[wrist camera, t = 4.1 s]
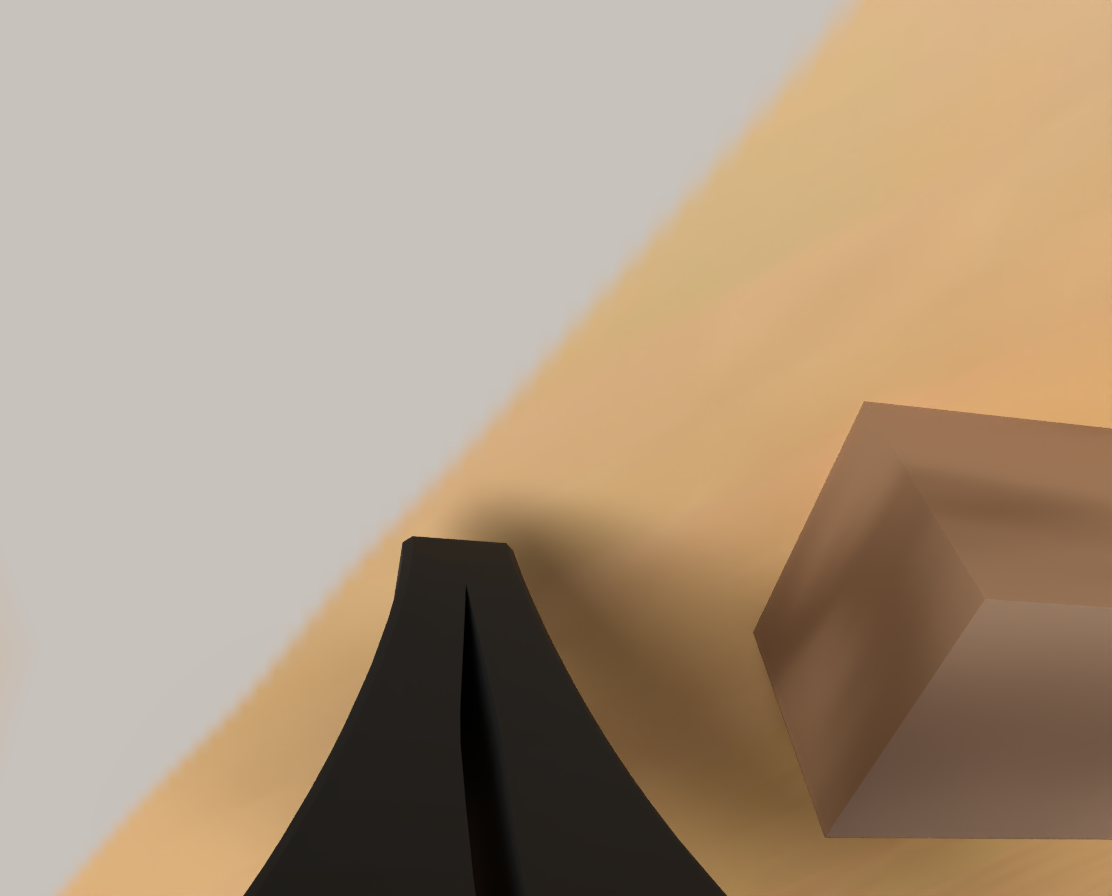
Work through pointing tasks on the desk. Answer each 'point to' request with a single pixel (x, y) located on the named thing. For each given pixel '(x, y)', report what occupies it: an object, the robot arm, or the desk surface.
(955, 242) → the desk surface
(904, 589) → the walnut block
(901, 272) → the desk surface
